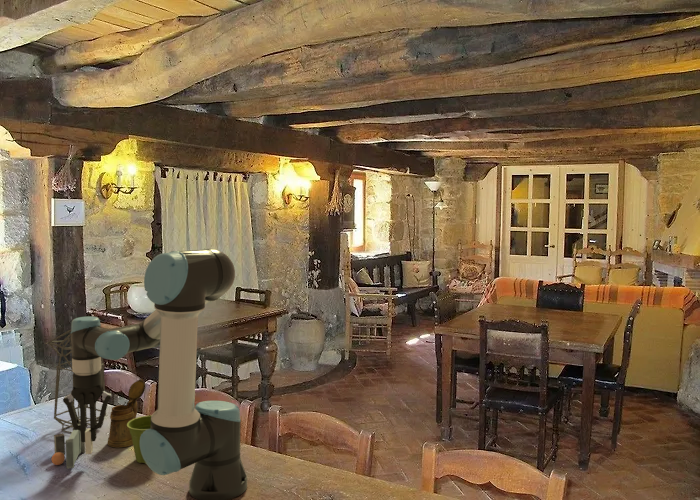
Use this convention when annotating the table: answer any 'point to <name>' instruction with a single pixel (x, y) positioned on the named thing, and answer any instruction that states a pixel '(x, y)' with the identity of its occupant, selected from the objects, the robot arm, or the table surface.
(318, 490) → the table surface
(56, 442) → the block
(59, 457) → the ball
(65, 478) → the table surface
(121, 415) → the wooden mug
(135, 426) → the plant pot
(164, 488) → the table surface
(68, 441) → the grey-green flanged panel
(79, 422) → the hinge post
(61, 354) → the geometric lantern
